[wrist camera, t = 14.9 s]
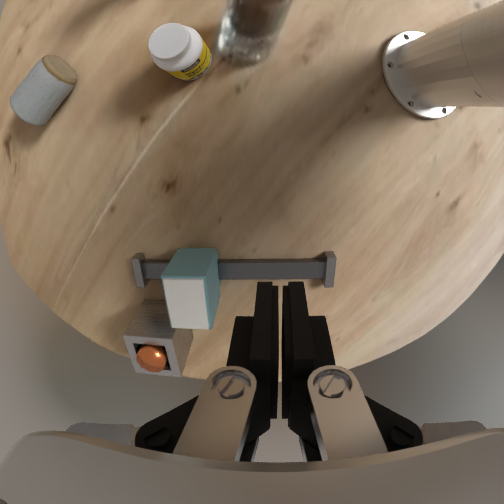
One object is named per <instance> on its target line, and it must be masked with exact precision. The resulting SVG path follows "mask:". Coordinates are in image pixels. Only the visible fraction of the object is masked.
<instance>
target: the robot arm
mask: <svg viewBox="0 0 504 504" xmlns="http://www.w3.org/2000/svg"><path fill="white" fill-rule="evenodd" d="M388 65H389V67H388ZM382 68H383V73H384V77H385V80H386V83H387V85H388V87H389V89H390V91H391V93H392V94H393V95H394V97H395V98H396V99H397V101H398V102H399V103H400V104H401V105H402V106H403V107H404V108H406V109H407V110H408V111H410V112H411V113H413V114H415V115H417V116H420V117H423V118H430V119H437V118H442V117H445V116H447V115H449V114H450V113H451V112H452V111H453V110H454V109H455V108H456V107H467V106H476V107H504V0H503V1H500V2H498V3H495V4H493V5H491V6H488V7H486V8H484V9H481V10H479V11H476V12H474V13H471V14H469V15H466V16H464V17H461V18H459V19H457V20H454V21H452V22H450V23H447V24H445V25H443V26H441V27H439V28H436V29H434V30H432V31H430V32H428V33H426V34H425V33H423V32H418V31H406V32H402V33H400V34H398V35H396V36H395V37H393V38H392V39H391V40H390V41H389V42H388V44H387V45H386V47H385V49H384V52H383V58H382ZM408 103H409V105H408ZM278 367H279V315H278V286H272V282H258V283H257V292H256V302H255V312H254V316H236V318H235V323H234V328H233V333H232V339H231V344H230V349H229V355H228V360H227V365H226V367H222V368H219V369H217V370H215V371H214V372H212V373H211V374H210V375H209V376H208V378H207V379H206V382H205V384H204V386H203V388H202V390H201V392H200V395H198V396H197V397H195V398H193V399H191V400H189V401H188V402H186V403H184V404H182V405H180V406H178V407H177V408H175V409H173V410H171V411H169V412H167V413H165V414H163V415H161V416H159V417H157V418H155V419H153V420H151V421H149V422H147V423H146V424H144V425H143V426H142V427H134V425H132V424H129V425H128V424H100V423H85V422H82V423H76V424H74V425H71V426H70V427H69V428H68V429H67V430H66V431H39V432H33V433H29V434H27V435H25V436H23V437H22V438H20V439H19V440H18V441H17V442H16V443H15V444H14V445H13V447H12V448H11V449H10V451H9V452H8V454H7V455H6V457H5V458H4V460H3V461H2V463H1V465H0V504H504V428H490V429H486V428H485V427H484V426H483V424H481V423H479V422H477V421H464V422H463V421H462V422H445V423H424V424H423V426H417V425H416V424H415V423H413V422H412V421H410V420H408V419H407V418H405V417H403V416H401V415H399V414H397V413H395V412H393V411H392V410H390V409H388V408H386V407H384V406H382V405H380V404H379V403H377V402H375V401H374V400H372V399H370V398H368V397H366V396H365V395H364V394H363V392H362V390H361V387H360V385H359V383H358V381H357V378H356V377H355V376H354V374H353V373H352V372H351V371H349V370H348V369H346V368H343V367H341V366H336V365H335V359H334V355H333V350H332V345H331V340H330V335H329V331H328V326H327V322H326V318H325V316H309V314H308V307H307V301H306V295H305V288H304V282H288V286H283V303H282V419H288V427H290V429H291V430H292V431H293V432H295V433H296V434H297V435H299V443H300V447H301V452H302V456H303V461H304V462H289V463H288V462H287V463H267V462H266V463H263V462H253V461H254V458H255V454H256V450H257V446H258V442H259V436H260V435H262V434H263V433H265V432H266V431H267V430H269V428H270V419H274V418H275V419H276V418H277V399H278Z"/></svg>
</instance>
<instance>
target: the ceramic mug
mask: <svg viewBox="0 0 504 504" xmlns="http://www.w3.org/2000/svg"><path fill="white" fill-rule="evenodd" d="M76 82H77V75H76V73H75V71H74V70H73V68H72V67H71V66H70V65H69V64H68V63H67V62H65V61H64V60H63V59H61V58H59V57H57V56H55V55H46V56H44V57H43V58H42V59H41V60H40V61H39V62H37V64H36V65H35V66H34V67H33V68H32V70H31V71H30V72H29V74H28V75H27V76H26V77H25V79H24V80H23V81H22V82H21V84H20V85H19V86H18V88H17V89H16V90H15V92H14V93H13V95H12V96H11V98H10V105H11V107H12V109H13V111H14V112H15V114H16V115H17V116H18V117H19V118H20V119H22V120H23V121H25V122H27V123H29V124H32V125H37V126H41V125H44V124H46V123H47V122H48V120H49V119H50V118H51V116H52V115H53V113H54V112H55V111H56V109H57V108H58V107H59V106H60V104H61V103H62V102H63V100H64V99H65V98H66V97H67V95H68V94H69V93H70V92H71V91H72V89H73V87H74V86H75V84H76Z"/></svg>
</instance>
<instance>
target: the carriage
mask: <svg viewBox="0 0 504 504" xmlns="http://www.w3.org/2000/svg"><path fill="white" fill-rule="evenodd" d="M217 261H218V253H217V252H216V248H179V249H178V250H177V252H176V253H175V255H174V256H173V258H172V259H171V261H170V262H169V264H168V265H167V267H166V268H165V270H164V271H163V273H162V275H161V280H162V286H163V291H164V296H165V301H166V306H167V311H168V316H169V321H170V326H171V328H186V329H212V327H213V323H214V318H215V314H216V310H217V306H218V302H219V298H220V288H219V287H220V284H221V282H220V279H219V277H218V265H217Z"/></svg>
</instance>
